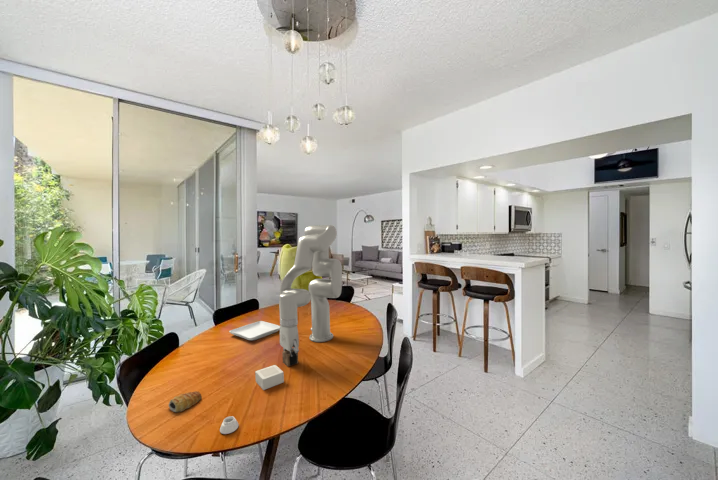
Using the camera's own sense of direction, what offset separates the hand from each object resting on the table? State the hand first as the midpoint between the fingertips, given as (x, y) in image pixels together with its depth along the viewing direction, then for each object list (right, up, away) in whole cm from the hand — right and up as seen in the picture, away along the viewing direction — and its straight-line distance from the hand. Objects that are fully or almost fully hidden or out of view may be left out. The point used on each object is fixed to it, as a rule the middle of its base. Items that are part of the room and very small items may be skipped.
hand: (290, 361), depth 125 cm
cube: (0, -1, 0) cm, 1 cm away
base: (-4, -1, -15) cm, 16 cm away
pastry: (-29, -3, -28) cm, 41 cm away
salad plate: (-28, 0, +36) cm, 46 cm away
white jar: (-8, -3, -40) cm, 41 cm away
